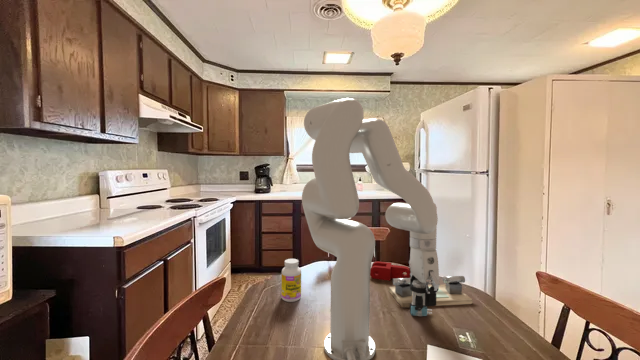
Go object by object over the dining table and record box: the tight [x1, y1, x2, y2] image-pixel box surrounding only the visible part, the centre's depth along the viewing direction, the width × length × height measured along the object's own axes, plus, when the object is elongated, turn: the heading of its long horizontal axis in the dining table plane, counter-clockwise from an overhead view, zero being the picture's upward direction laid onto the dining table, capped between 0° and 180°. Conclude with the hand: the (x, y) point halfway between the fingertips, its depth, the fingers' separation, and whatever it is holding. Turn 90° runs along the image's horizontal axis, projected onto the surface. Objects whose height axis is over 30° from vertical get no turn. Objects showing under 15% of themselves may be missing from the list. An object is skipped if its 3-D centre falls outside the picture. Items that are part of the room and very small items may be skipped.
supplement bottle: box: [280, 258, 302, 303], centre depth 96 cm, size 7×7×13 cm
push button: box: [409, 280, 433, 317], centre depth 86 cm, size 7×5×10 cm
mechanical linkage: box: [370, 260, 410, 281], centre depth 115 cm, size 16×7×5 cm, turn 72°
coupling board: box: [388, 283, 474, 308], centre depth 98 cm, size 12×24×2 cm, turn 96°
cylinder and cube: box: [392, 275, 466, 297], centre depth 97 cm, size 5×25×5 cm, turn 96°
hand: (422, 297), depth 86 cm, fingers open, 9 cm apart
